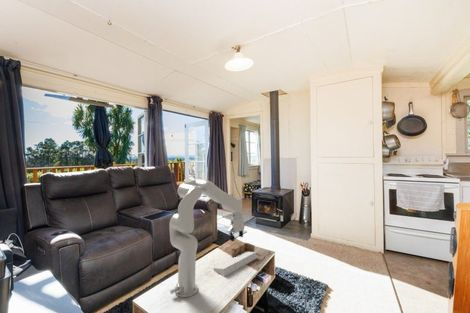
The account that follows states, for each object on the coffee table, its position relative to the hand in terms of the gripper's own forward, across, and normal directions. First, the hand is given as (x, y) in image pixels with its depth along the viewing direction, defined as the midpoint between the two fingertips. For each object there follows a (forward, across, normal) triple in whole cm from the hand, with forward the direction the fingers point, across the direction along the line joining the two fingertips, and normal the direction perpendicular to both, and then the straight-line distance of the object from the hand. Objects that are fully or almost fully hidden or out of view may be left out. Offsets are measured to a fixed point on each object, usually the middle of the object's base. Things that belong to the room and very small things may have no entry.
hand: (236, 238), depth 153 cm
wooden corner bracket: (+17, +12, +3) cm, 21 cm away
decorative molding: (+18, -2, -2) cm, 18 cm away
